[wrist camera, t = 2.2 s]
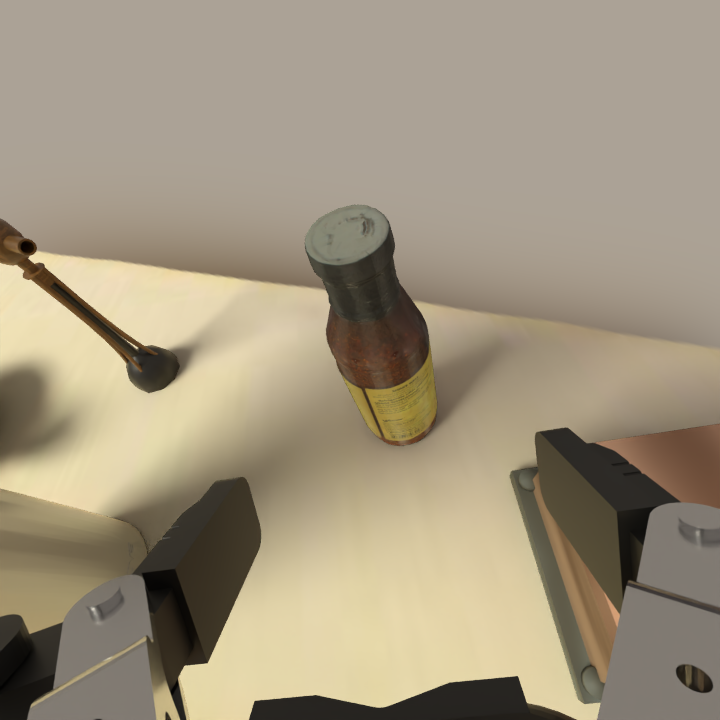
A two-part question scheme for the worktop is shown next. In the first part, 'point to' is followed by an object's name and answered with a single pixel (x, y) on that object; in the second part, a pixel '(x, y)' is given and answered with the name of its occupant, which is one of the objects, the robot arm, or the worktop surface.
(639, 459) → the copper and grey block
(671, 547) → the robot arm
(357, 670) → the worktop surface
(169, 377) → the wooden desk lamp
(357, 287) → the sauce bottle
